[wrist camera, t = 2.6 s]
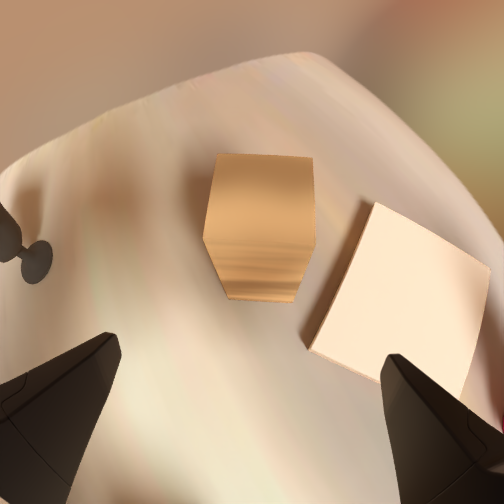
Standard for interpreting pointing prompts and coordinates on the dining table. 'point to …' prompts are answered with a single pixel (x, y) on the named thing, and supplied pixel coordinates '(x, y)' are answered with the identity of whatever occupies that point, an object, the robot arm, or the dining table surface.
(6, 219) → the sundae
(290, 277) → the oak block
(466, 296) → the plate
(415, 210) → the dining table surface
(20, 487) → the robot arm
